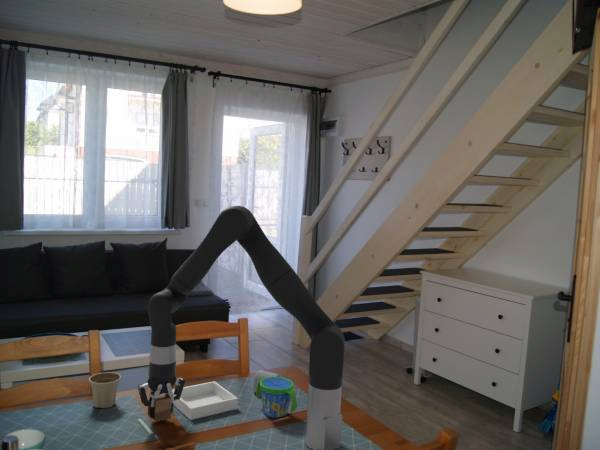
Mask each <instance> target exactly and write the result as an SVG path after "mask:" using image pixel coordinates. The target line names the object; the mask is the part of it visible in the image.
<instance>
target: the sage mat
mask: <svg viewBox="0 0 600 450" xmlns="http://www.w3.org/2000/svg"><path fill="white" fill-rule="evenodd" d="M137 422H138V424H139V425H141V427H142V428H143V429H144V431H145V432H146V433H147V434H148V435H149V436H154V435H155V433H154V432H153V430H152V429H151V428H150V427H149V426H148V425H147V423H146V422H144V420H143V419H142V418H137Z"/></svg>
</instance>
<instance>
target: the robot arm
mask: <svg viewBox="0 0 600 450" xmlns="http://www.w3.org/2000/svg"><path fill="white" fill-rule="evenodd" d="M235 242H237V243H238V244H239V245H240V247H242V248H243V250H245V252H246V253H247V255H248V256H249V258H250V260H251V263H252V264H253V266H254V270H255V271H256V273H257V276H258V278H259V280H260V282H261V283H262V285H263V286H264V288H265V289H266V290H267V292H269V294H270V296H271V297H272V298H273V300H275V302H276V303H277V304H278V305H279V306H280V307H281V308H282V309H284V310H285V311H286V312H287V313H289V314H290V315H292V316H293V318H295V319H296V320H297V321H298V323H300V325H301V327H302V328H303V329H304V331H305V332H306V334H307V335H308V337H309V339H310V345H309V346H310V347H309V358H308V359H309V362H308V363H309V364H308V390H307V407H306V423H305V439H304V440H305V441H304V442H305V446H307V447H308V448H309V449H310V450H336V449H340V448H341V443H342V442H341V440H342V427H343V426H342V425H343V414H342V413H341V403H342V401H341V400H342V389H343V377H344V376H343V375H344V361H345V360H344V359H345V346H346V345H345V343H346V342H345V341H346V339H345V335H344V333H343V331H342V329H341V328H340V327H339V326H338V325H337V324H336V323H335V322H334V321H333V320H332V319H331V318H330V317H329V316H328V314H326V313H325V312H324V310H323V309H322V308H321V306H319V304H318V302H317V301H316V300H315V298H314V297H313V295H312V294H311V292H310V291H309V289H308V288H307V287H306V285H305V283H304V282H303V281H302V279H301V278H300V277H299V275H298V274H297V273H296V271H295V270H294V269H293V267H292V266H291V264H290V263H288V261H287V260H286V259H285V257H284V256H283V255H282V254H281V253H280V252H279V250H278V249H277V248H276V247H275V246H274V245H273V244H272V242H271V241H270V240H269V238H268V237H267V235H266V234H265V232H264V231H263V229H262V228H261V226H260V224H259V222H258V221H257V219H256V218H255V216H254V214H253V212H251V211H250V209H248V208H246V207H245V206H243V205H233V206H228V207H227V208H224V209H222V211H220V213H219V215H218V217H216V219H215V221H214V223H213V225H212V226H211V228H210V229H209V230H208V232H207V233H206V236H205V237H204V238H203V240H202V241H201V242H200V244H199V245H198V246H197V247H196V249H195V250H194V251H193V252H192V253H191V254H190V255H189V257H188V258H186V260H185V261H184V262H183V263H182V264H181V265H180V266H179V267H178V269H177V270H176V271H175V272H174V274H173V275H172V277H171V278H170V282H169V284H168V285H167V286H166V287H165V288H164V289H163V290H161V291H159V292H157V293H155V294H153V295H152V296H151V297H150V299H149V302H148V305H147V313H148V314H147V315H148V318H149V325H150V328H151V329H150V330H151V332H150V347H149V355H148V359H149V360H148V361H149V362H148V380H147V381H146V382H145V383H143V384H138V385H137V390H138V395H139V398H140V401H141V403H142V405H144V406H145V407H147V416H148V417H149V418H150V420H154V416H155V407H154V406H155V400H157V399H158V396H159V395H160V394H163V393H165V394H166V395H168V396H169V397H171V398H172V400H171V414H172V413H174V405H173V403H174V401H175V400H179V399H180V397H181V394H182V390H183V387H185V382H186V380H185V379H184V378H183V377H181V376H179V377H176V371H177V370H176V369H177V326H176V324H174V323H173V321H172V320H173V319H172V314H174V313H175V312H176V311H177V310H179V308H181V306H182V305H183V304H184V303H185V301H186V300H187V298H188V297H189V295H190V293H191V292H192V291H193V290H194V289H195V288H197V286H198V285H199V284H200V283H201V281H202V280H203V279H204V278H205V276H206V275H207V274H208V273H209V271H210V269H211V268H212V267H213V265H214V264H215V262H216V261H217V259H218V258H219V257H220V256H221V254H223V253H224V252H225V251H226V250H227V249H228V248H229V247H230V246H232V244H234V243H235ZM174 385H175V388H174V389H175V391H174V394H173V391H172V388H173V387H174ZM148 388H149V389H150V391H149V397H148V396H147V392H148Z"/></svg>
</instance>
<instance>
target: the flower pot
mask: <svg viewBox="0 0 600 450" xmlns="http://www.w3.org/2000/svg"><path fill="white" fill-rule="evenodd" d="M121 379H122V375H121V374H119V373H116V372H110V371H109V372H108V371H107V372H99V373H96V374H92V375H91V376H89V378H88V382H89V383H90V386H91V392H92V401H93V406H94V408H97V409H99V408H101V409H107V408H111V407H113V405H115V404H116V399H117V393H118V387H119V383H120V380H121Z"/></svg>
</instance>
